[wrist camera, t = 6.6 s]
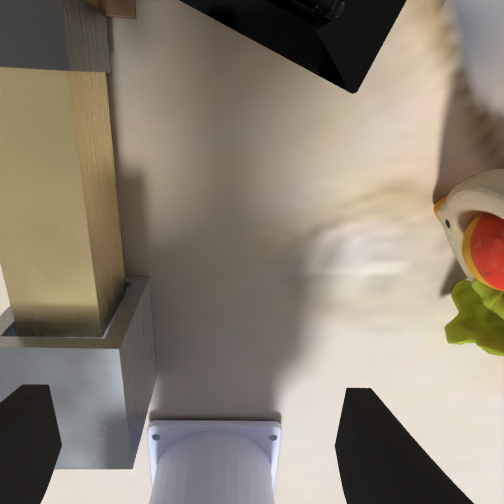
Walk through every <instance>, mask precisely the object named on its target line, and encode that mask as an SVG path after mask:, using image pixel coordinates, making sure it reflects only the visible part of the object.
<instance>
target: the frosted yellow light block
mask: <svg viewBox="0 0 504 504" xmlns="http://www.w3.org/2000/svg"><path fill="white" fill-rule="evenodd" d="M106 73H111V69H110V58H109V47H108V36H107V25H106V13H105V11H104V10H102V9H100V8H99V0H0V263H1V268H2V272H3V276H4V280H5V284H6V288H7V292H8V296H9V300H10V304H11V308H12V313H13V317H14V321H15V325H16V329H17V333H18V336H46V337H95V338H102V337H103V335H104V333H105V331H106V329H107V327H108V325H109V323H110V322H111V320H112V318H113V316H114V314H115V312H116V310H117V308H118V306H119V304H120V302H121V300H122V298H123V296H124V294H125V292H126V284H125V273H124V263H123V252H122V242H121V231H120V220H119V210H118V199H117V189H116V178H115V167H114V157H113V146H112V136H111V125H110V114H109V104H108V93H107V83H106Z"/></svg>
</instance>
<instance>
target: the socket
mask: <svg viewBox="0 0 504 504" xmlns="http://www.w3.org/2000/svg"><path fill="white" fill-rule="evenodd" d="M99 8H100V9H102V10H104V11H105V13H106V17H116V18H130V19H136V4H135V0H99Z"/></svg>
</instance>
